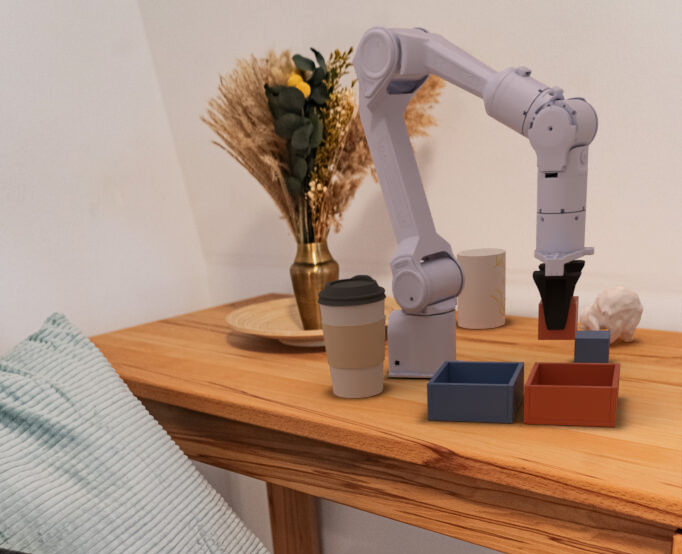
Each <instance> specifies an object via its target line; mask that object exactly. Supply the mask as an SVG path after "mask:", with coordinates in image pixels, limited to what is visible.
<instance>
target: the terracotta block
mask: <svg viewBox="0 0 682 554" xmlns="http://www.w3.org/2000/svg"><path fill="white" fill-rule="evenodd" d="M579 300H580V296H579V295H573V296H572V298H571V302H570V307H569V313H568V318H567V322H566V325H565V328H564V330H547V327H546V323H545V318H544V311H543V305H542V300H541V299H540V301H539V303H538V312H537V313H538V314H537V315H538V318H537V340H538V341H575V337H576V334H577V331H578V327H579V326H578V325H579V304H580V303H579Z"/></svg>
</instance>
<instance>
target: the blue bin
mask: <svg viewBox="0 0 682 554" xmlns="http://www.w3.org/2000/svg"><path fill="white" fill-rule="evenodd" d="M524 386H525V361H480V360H479V361H469V360H468V361H467V360H462V361H445V362H444V363H443V364H442V365H441V367H440V368H439V369H438V370H437V372H436V373H435V374H434V376H433V377H432V378H429V381H428V382H427V383H426V401H427V402H426V403H427V404H426V407H427V421H438V422H439V421H440V422H467V423H493V424H513V423H514V420H515V418H516V416H517V414H518V411H519V409H520V407H521V404H522V402H523V401H524Z"/></svg>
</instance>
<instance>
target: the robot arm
mask: <svg viewBox="0 0 682 554" xmlns="http://www.w3.org/2000/svg"><path fill="white" fill-rule="evenodd" d="M352 65H353V68H354V73H355V75H356V79H357V82H358V113H359V118H360V123H361V126H362V129H363V132H364V135H365V139H366V142H367V147H368V149H369V153H370V156H371V159H372V163H373V166H374V169H375V173H376V176H377V179H378V183H379V186H380V190H381V193H382V196H383V199H384V203H385V206H386V210H387V213H388V216H389V220H390V223H391V227H392V231H393V233H394V238H395V240H396V243H397V244H396V245H397V247H396V249H395V251H394V253H393V255H392V257H391V258H390V260H389V266H390V267H389V268H390V270H391V275H392V282H391V291H392V296H393V299H394V301H395V302H396V304H397V305H398V306H399V308H401V309H394V310H392V311H390V314H389V316H388V320H387V330H386V331H387V334H386V335H387V336H386V337H387V354H388V355H387V356H388V371H389V372H388V373H387V377H389V378H407V379H409V378H411V379H412V378H413V379H415V378H416V379H431V378H432V377H433V376H434V374H435V373H436V372H437V370H438V369H439V368H440V367H441V365H442V364H443V363H444V362H445V361H463V360H462V359H457V322H456V321H457V316H456V311H457V310H456V306H458V296H459V295H460V294H461V292H462V291H463V289H464V286H465V273H464V270H463V267H462V265H461V264H460V263H459V261H458V260H457V257H456V256H455V253H454V252H453V250H452V245H451V244H450V242H449V241H447V240H446V239H445V238H444V237H443V236H441V235H440V234H439V233H438V232H437V230H436V226H435V223H434V219H433V215H432V212H431V209H430V205H429V201H428V198H427V195H426V191H425V187H424V184H423V180H422V176H421V174H420V170H419V167H418V164H417V160H416V156H415V152H414V149H413V146H412V142H411V139H410V135H409V131H408V128H407V124H406V121H405V118H404V115H405V112H406V110H407V109H408V106H409V103H410V102H411V101H412V100H413V98H414V97H415V96H416V95H417V93H418V92H419V91H420V90H421V89H422V88H423V86H424V85H425V83H426V82H427V81H428V79H429V78H430V77H431V76H436V77H438V78H440V79H442V80H443V81H445V82H448V83H449V84H451V85H454V86H456V87H458V88H460V89H461V90H464V91H465V92H468V93H470V94H472V95H473V96H476V97H478V98H479V99H481V100H483V105H484V110H485V113H486V115H487V116H488V117H490V118H492V119H493V120H495V121H497V122H498V123H500V124H502V125H504V126H506V127H508V129H511V130H513V131H514V132H515V133H518V134H519V135H521V136H522V137H524V138H526V139H528V141H529V144H530V146H531V148H532V149H533V150H534V152H535V154H536V167H537V173H536V174H537V177H536V178H537V179H536V183H537V184H536V186H537V187H536V228H535V230H536V231H535V232H536V234H535V249H534V250H533V251H534V252H533V257H534V258H535V259H536V260H538V261H540V262H541V263H539V264H538V266H537V267H538V270H534V271H532V280H533V283H534V284H535V286H536V288H537V291H538V294H539V296H540V301H541V300H542V305H543V311H544V318H545V323H546V327H547V330H564V328H565V325H566V322H567V318H568V313H569V307H570V302H571V298H572V296H575V295H574V294H575V291H576V286H577V283H578V282H579V280H580V278H581V276H582V273H583V272H582V271H583V269H584V268H585V266H586V265H585V264H586V260H584V259H580V258H582V257H583V258H584V257H585V256H594V255H595V246H585V244H586V243H585V241H586V219H587V218H586V217H587V199H588V198H587V197H588V195H587V194H588V177H589V176H588V172H589V149H590V147H589V146H590V145H591V144H592V143H593V141H594V140H595V138H596V136H597V134H598V128H599V117H598V113H597V110H596V109H595V107H593V105H592V104H591V103H589V102H588V101H587V100H586V98H585V97H582V96H574V97H569V98H566V99H565V96H564V92H565V91H564V89H563V88H562V87H560V86H558V85H557V86H555V85H554V86H552V87H551V86H549V85H547V84H545V83H543V82H541V81H539V80H537V79H535V78H534V77H532V76H531V75H532V69H530V68H528V67H526V66H524V65H521V66H519V65H518V66H517V67H516V68H515V67H514V66H509V67H506V68H504V69H502V70H500V71H497V70H495V69H494V68H492V67H491V66H489V65H487V64H486V63H484V62H483V61H481V60H480V59H478V58H477V57H476V56H473V55H472V54H470V53H469V52H467V51H466V50H464V49H462V48H461V47H460V46H458V45H456V44H454V43H453V42H451V41H450V40H448V39H447V38H445V37H444V36H443V35H441V34H439V33H436V32H430V30H428V29H427V28H425V27H421V26H418V27H416V26H415V27H411V28H408V27H407V28H406V27H386V26H384V25H374V26H371V27H369V28H368V29H367V30H366V31H365V32H364V33H363V34H362V36H361V38H360V40H359V43H358V45H357V48H356V50H355V53H354V56H353V58H352Z"/></svg>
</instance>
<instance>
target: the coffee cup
mask: <svg viewBox="0 0 682 554" xmlns="http://www.w3.org/2000/svg"><path fill="white" fill-rule="evenodd" d="M317 295H318V299H317V303H318V304H319V309H320V316H321V321H320V324H321V329H322V335H323V341H324V347H325V354H326V360H327V364H328V366H329V371H330V378H331V386H332V391H333V394H334V396H337V397H338V398H339V397H340V398H344V399H362V398H369V397H374V396H377V395H379V394H381V393H382V392H383V391H384V367H385V366H384V365H385V364H384V363H385V359H386V324H387V323H386V322H387V321H386V319H387V318H386V317H387V316H386V314H385V310H386V309H385V308H386V307H385V304H386V303H385V302H386V298H387V295H386V289H385V287H383V286H380V285H379V284H378V282H377V280H376V279H374V278H373V277H372V276H371V275H368V274H356V275H354V276H352V277H349V278H342V279H336V280H335V279H334V280H331V281H328V282H326V283H325V284H324V287H323V289H322V290H321V291H319V292H318V294H317Z"/></svg>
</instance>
